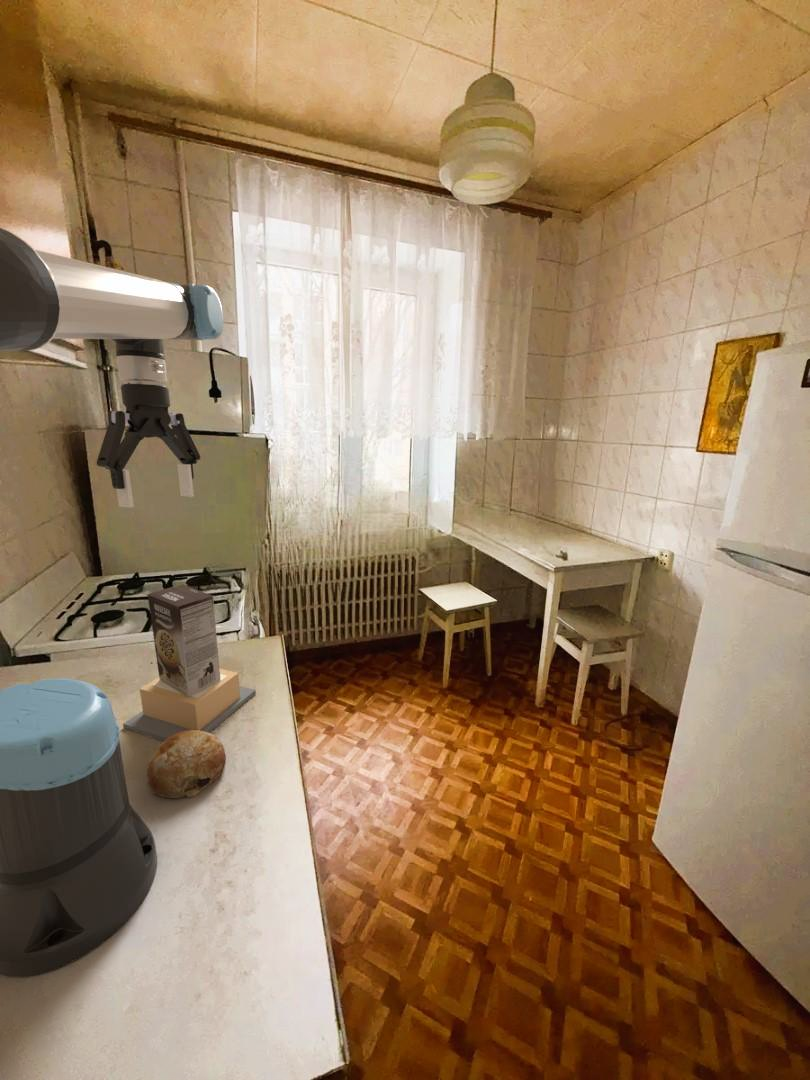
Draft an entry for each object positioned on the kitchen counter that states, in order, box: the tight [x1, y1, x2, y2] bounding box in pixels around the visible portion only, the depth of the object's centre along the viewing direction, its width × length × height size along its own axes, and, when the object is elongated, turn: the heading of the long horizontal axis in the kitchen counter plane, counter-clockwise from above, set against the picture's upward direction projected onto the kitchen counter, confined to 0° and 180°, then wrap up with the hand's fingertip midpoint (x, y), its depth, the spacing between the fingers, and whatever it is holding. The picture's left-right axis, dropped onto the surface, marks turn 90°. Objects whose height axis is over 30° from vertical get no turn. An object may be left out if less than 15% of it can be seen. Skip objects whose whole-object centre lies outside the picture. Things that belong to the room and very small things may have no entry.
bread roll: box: [146, 730, 227, 799], centre depth 63 cm, size 10×10×8 cm
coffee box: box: [147, 584, 220, 697], centre depth 75 cm, size 9×6×16 cm
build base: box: [122, 668, 257, 742], centre depth 77 cm, size 16×14×6 cm
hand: (159, 501), depth 84 cm, fingers open, 13 cm apart
